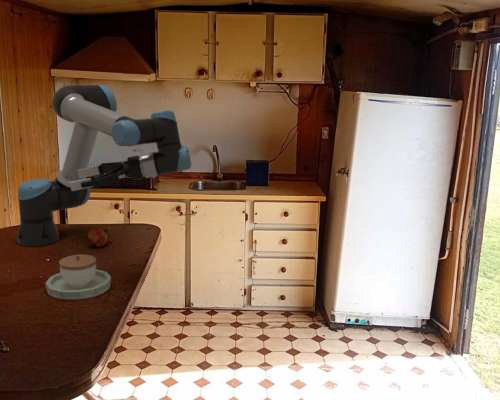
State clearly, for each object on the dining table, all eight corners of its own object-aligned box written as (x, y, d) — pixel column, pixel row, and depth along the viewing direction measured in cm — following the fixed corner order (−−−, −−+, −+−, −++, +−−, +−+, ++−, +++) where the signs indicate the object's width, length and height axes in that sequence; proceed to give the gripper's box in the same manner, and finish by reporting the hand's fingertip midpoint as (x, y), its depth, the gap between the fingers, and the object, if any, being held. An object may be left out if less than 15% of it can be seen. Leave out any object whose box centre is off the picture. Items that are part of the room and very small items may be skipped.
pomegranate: (90, 255, 195) (112, 239, 195) (77, 240, 193) (99, 224, 193) (94, 251, 202) (115, 235, 202) (81, 236, 201) (102, 220, 201)
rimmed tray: (58, 275, 169) (57, 268, 169) (116, 276, 170) (115, 269, 169) (38, 299, 151) (37, 291, 151) (102, 300, 152) (102, 292, 152)
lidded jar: (86, 293, 154) (84, 262, 152) (53, 289, 156) (51, 259, 154) (103, 279, 165) (102, 251, 162) (72, 276, 167) (70, 248, 164)
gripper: (142, 189, 155) (70, 204, 154) (146, 167, 179) (84, 179, 177) (136, 165, 153) (63, 180, 151) (141, 146, 176) (78, 158, 175)
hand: (74, 180), depth 164 cm, fingers open, 13 cm apart
